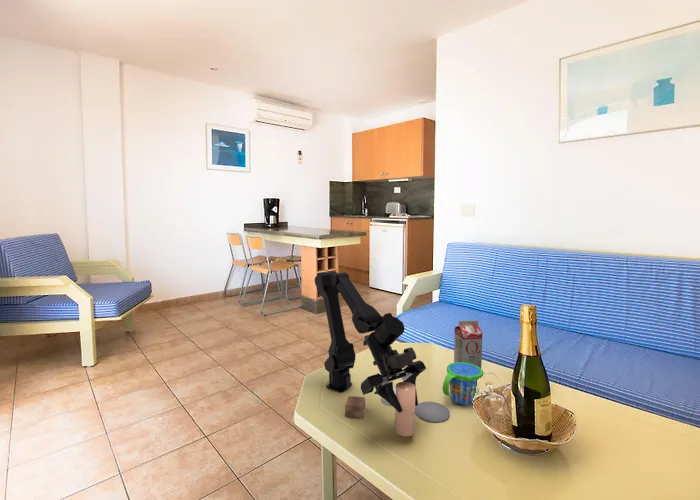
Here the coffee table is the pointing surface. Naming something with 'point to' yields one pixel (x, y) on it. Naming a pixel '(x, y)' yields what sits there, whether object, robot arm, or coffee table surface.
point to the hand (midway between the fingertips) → (409, 408)
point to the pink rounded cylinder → (405, 409)
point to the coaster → (432, 412)
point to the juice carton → (468, 343)
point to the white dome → (386, 401)
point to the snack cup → (462, 382)
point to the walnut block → (355, 407)
